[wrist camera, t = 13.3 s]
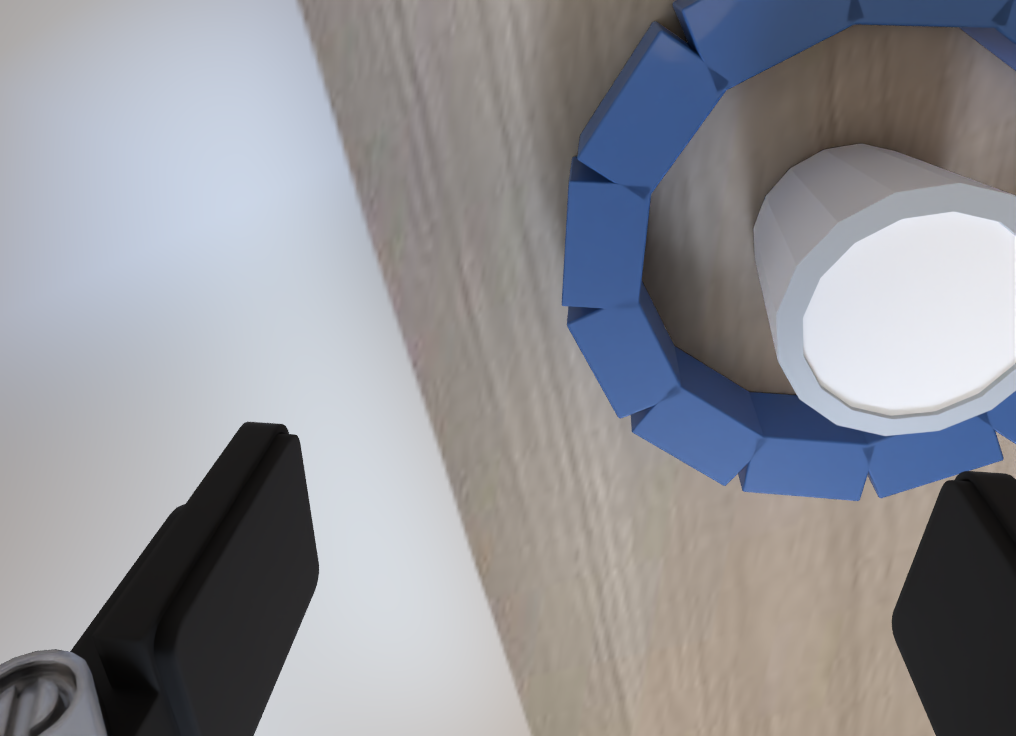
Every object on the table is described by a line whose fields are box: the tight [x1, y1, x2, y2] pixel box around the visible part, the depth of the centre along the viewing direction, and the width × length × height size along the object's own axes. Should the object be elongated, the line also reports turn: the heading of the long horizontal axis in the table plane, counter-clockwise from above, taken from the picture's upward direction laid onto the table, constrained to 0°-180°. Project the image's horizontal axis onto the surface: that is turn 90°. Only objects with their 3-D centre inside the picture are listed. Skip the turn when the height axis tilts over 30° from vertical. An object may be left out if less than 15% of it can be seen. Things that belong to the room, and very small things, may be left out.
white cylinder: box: [753, 143, 1016, 436], centre depth 21 cm, size 7×7×7 cm
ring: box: [562, 0, 1016, 501], centre depth 23 cm, size 17×17×3 cm
